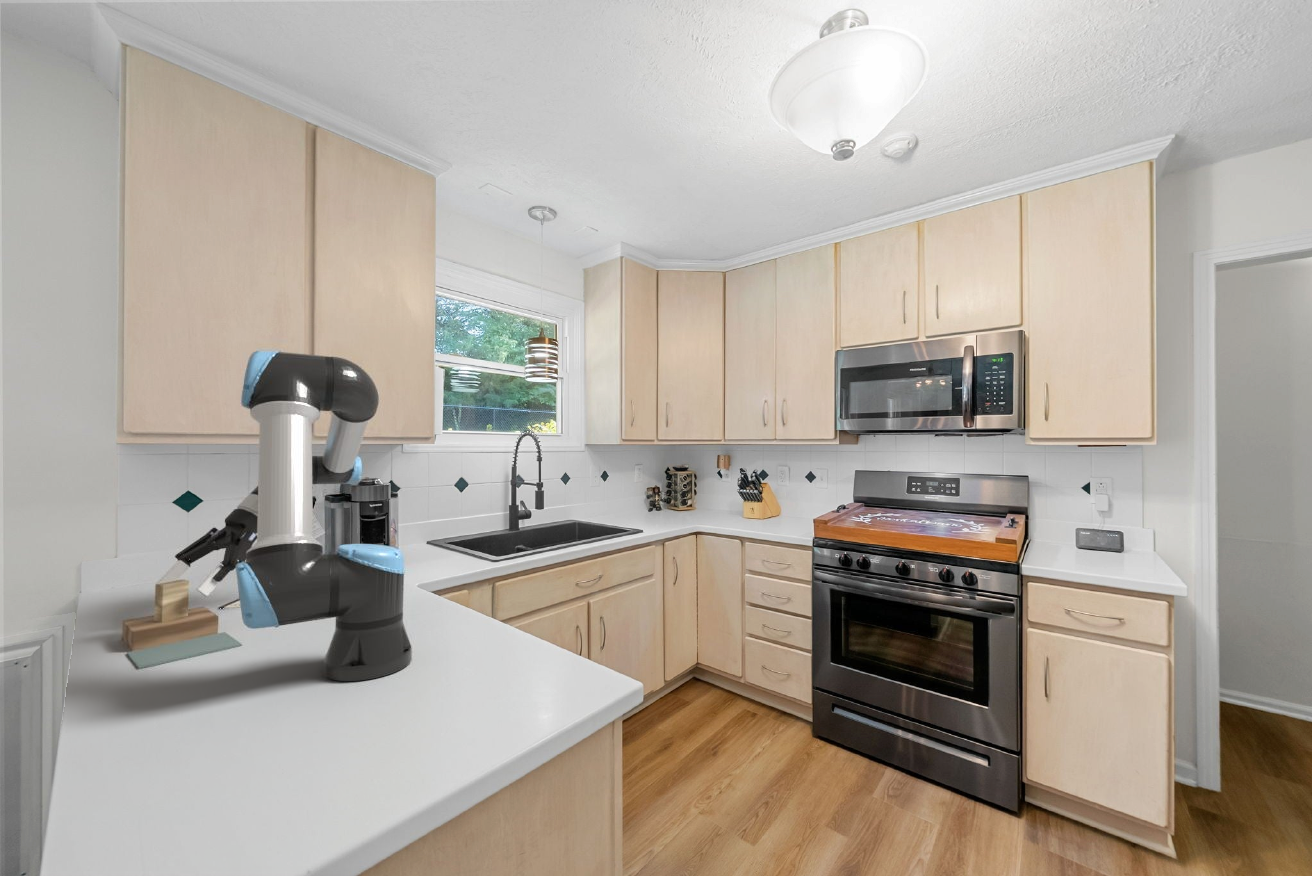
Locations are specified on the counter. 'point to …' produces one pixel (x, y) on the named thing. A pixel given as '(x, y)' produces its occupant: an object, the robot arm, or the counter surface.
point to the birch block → (171, 600)
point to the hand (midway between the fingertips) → (180, 590)
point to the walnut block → (168, 629)
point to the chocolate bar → (231, 605)
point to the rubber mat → (182, 650)
